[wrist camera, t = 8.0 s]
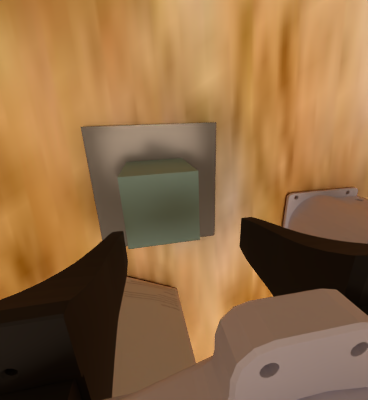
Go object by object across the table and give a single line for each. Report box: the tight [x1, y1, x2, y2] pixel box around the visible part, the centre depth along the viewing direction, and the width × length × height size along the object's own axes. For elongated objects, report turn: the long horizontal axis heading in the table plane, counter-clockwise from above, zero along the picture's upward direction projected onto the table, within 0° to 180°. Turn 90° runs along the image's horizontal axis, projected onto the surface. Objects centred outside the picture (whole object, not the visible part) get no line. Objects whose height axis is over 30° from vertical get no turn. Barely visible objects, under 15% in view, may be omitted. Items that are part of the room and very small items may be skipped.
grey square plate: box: [81, 122, 216, 246], centre depth 18 cm, size 12×12×5 cm
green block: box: [117, 158, 200, 249], centre depth 17 cm, size 5×5×7 cm
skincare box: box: [112, 277, 196, 398], centre depth 18 cm, size 8×6×15 cm
